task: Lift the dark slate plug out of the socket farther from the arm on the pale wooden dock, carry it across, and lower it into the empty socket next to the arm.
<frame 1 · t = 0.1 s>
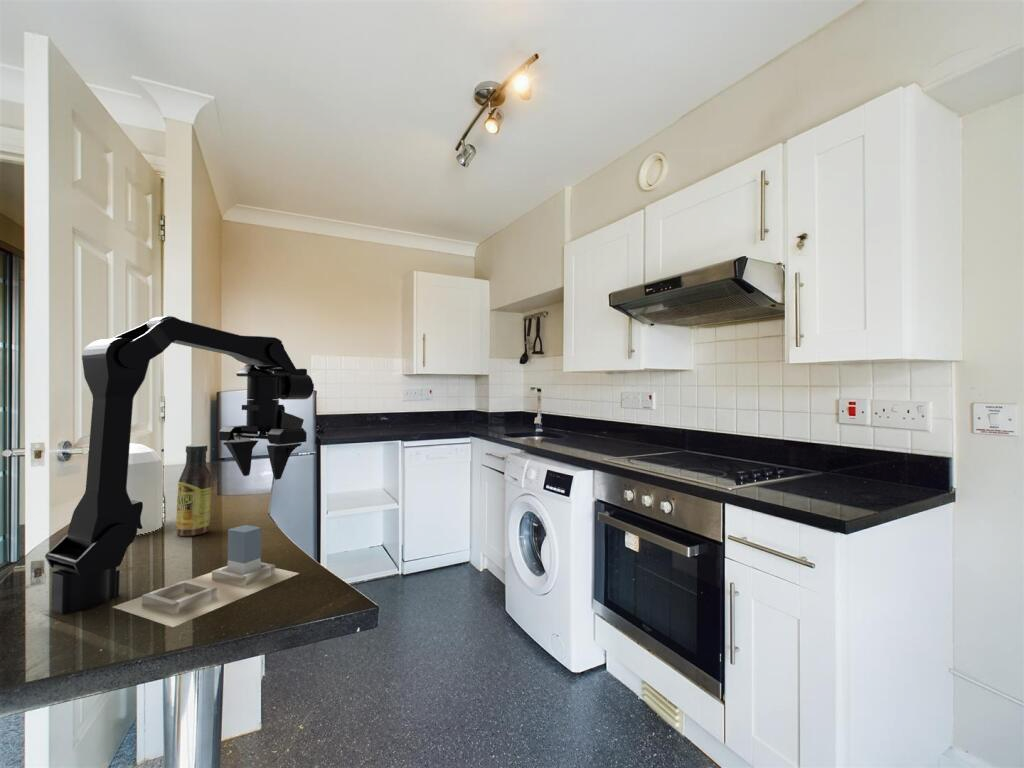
hand: (261, 477, 93), 15 cm above the counter, tool pointing down, fingers open, 9 cm apart
socket dock: (213, 595, 72), on the counter
container: (126, 531, 106), on the counter
sauce bottle: (193, 534, 104), on the counter
plug: (244, 577, 77), point 1 cm above the counter, touching socket dock
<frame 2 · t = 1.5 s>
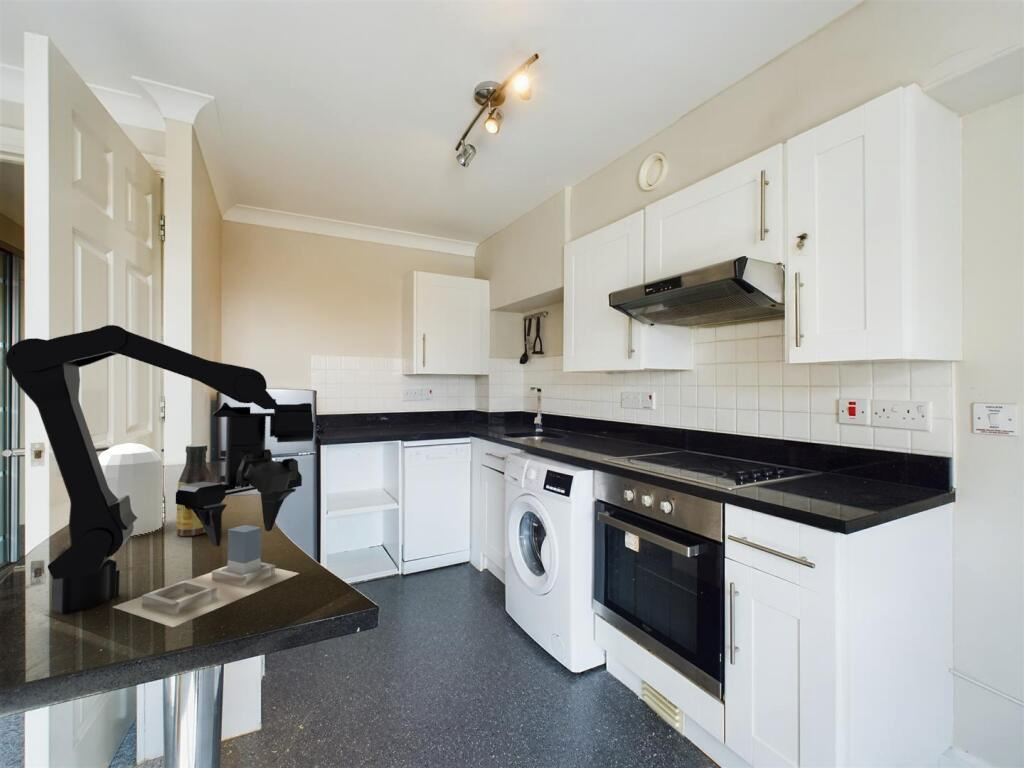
hand: (243, 538, 77), 7 cm above the counter, tool pointing down, fingers open, 9 cm apart
nothing on the counter moved.
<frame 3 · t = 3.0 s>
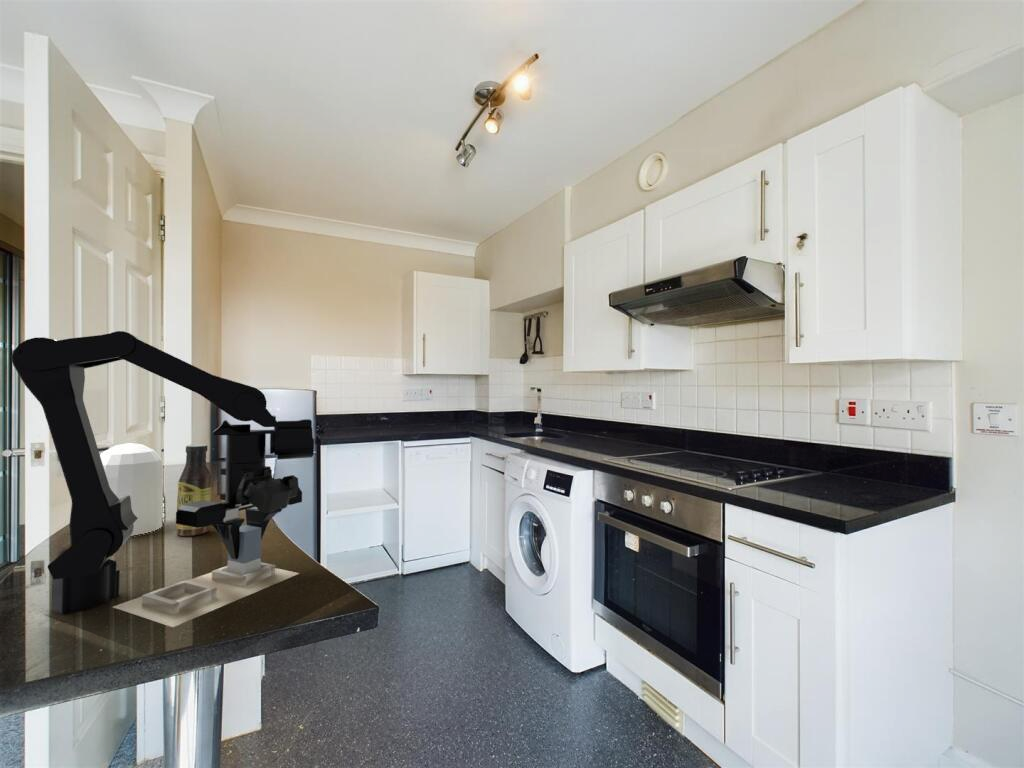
hand: (244, 555, 77), 5 cm above the counter, tool pointing down, fingers closed on plug, 3 cm apart
plug: (244, 577, 77), point 1 cm above the counter, touching gripper, socket dock
everything else where it was.
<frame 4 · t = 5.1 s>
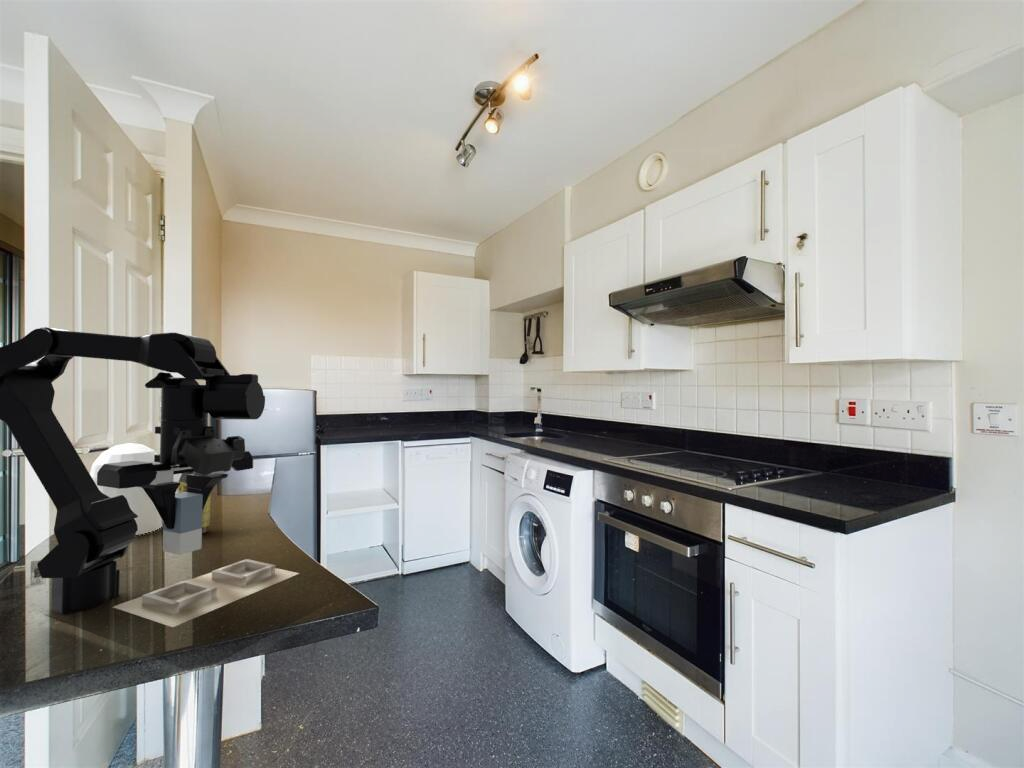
hand: (182, 525, 68), 12 cm above the counter, tool pointing down, fingers closed on plug, 3 cm apart
plug: (182, 549, 68), point 8 cm above the counter, touching gripper
everything else where it was.
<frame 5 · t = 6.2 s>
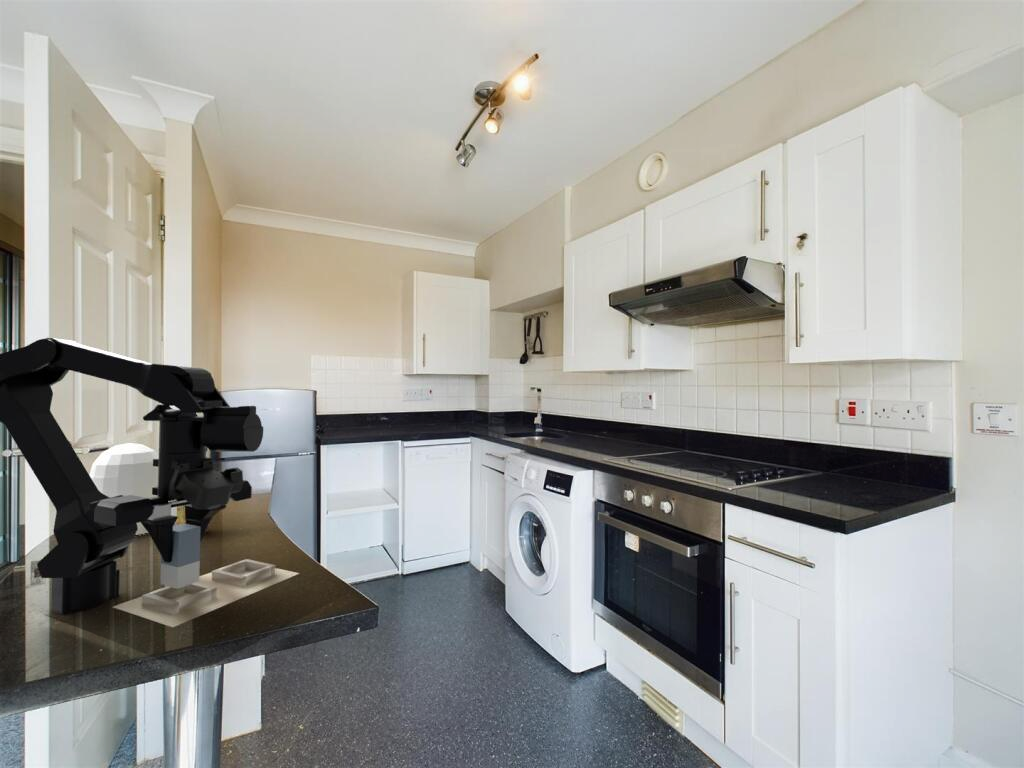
hand: (180, 558, 68), 7 cm above the counter, tool pointing down, fingers closed on plug, 3 cm apart
plug: (180, 582, 68), point 4 cm above the counter, touching gripper
everything else where it was.
when the fingers open (5 cm above the counter, at t = 7.2 s): plug stays where it is, resting on socket dock.
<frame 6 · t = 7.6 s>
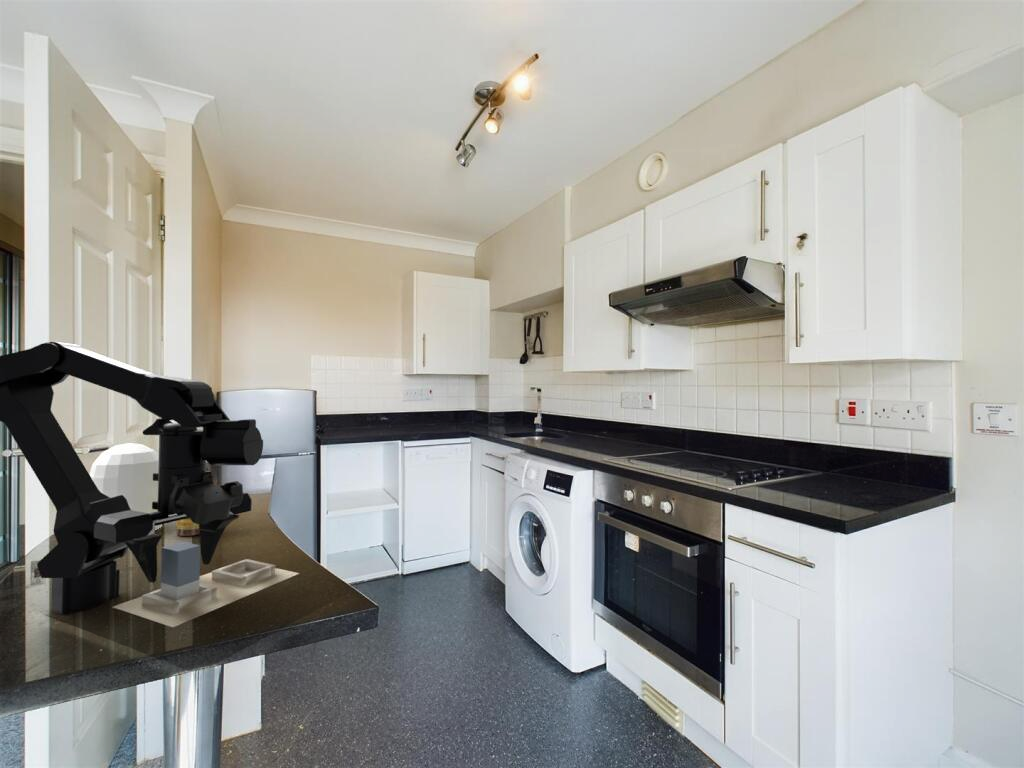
hand: (180, 572, 68), 5 cm above the counter, tool pointing down, fingers open, 7 cm apart
plug: (179, 601, 68), point 1 cm above the counter, touching socket dock
everything else where it was.
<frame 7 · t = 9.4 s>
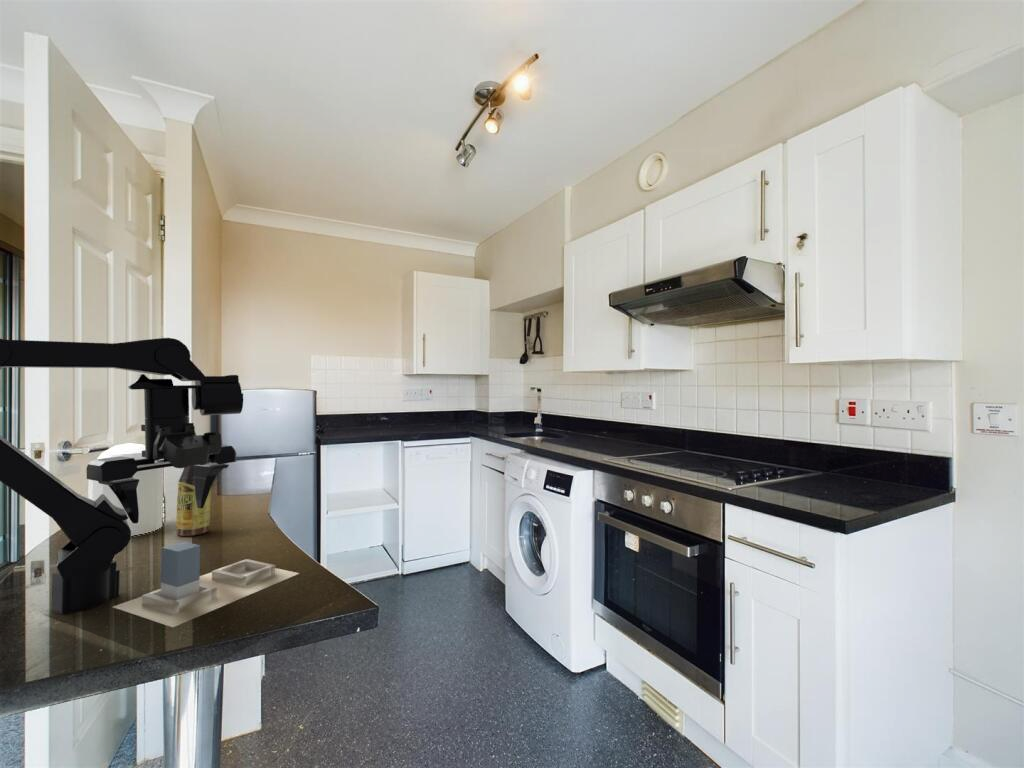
hand: (169, 515, 74), 12 cm above the counter, tool pointing down, fingers open, 9 cm apart
nothing on the counter moved.
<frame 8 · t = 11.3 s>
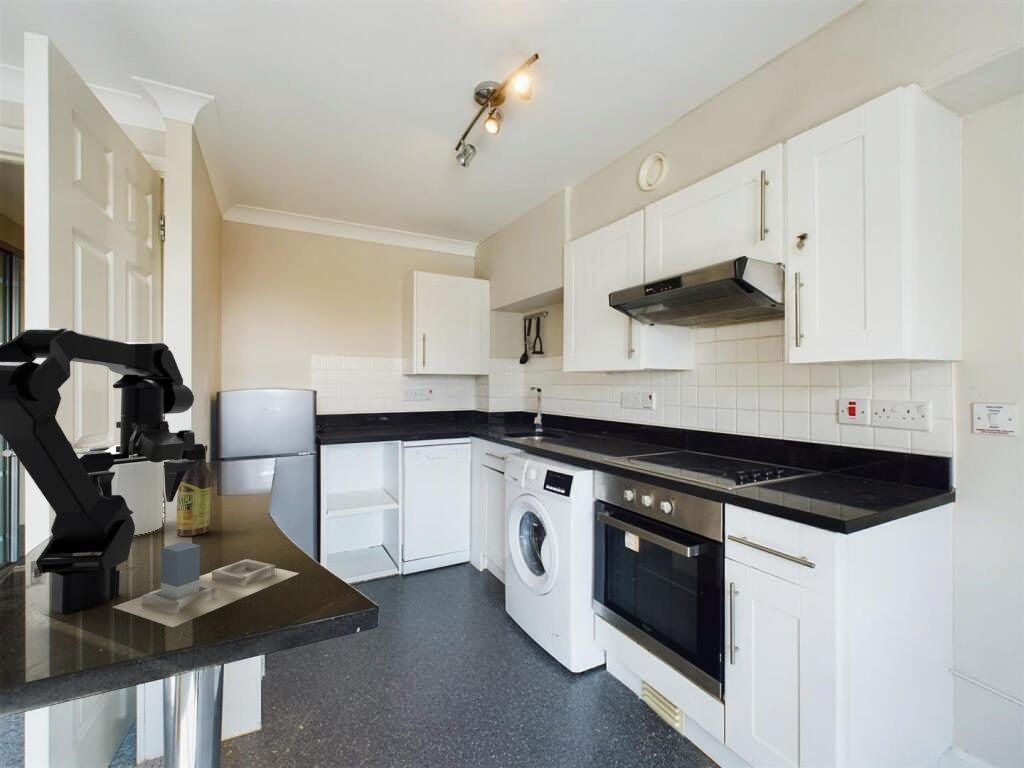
hand: (140, 507, 79), 12 cm above the counter, tool pointing down, fingers open, 9 cm apart
nothing on the counter moved.
at the end: plug 0.0 cm from the target spot on the socket dock, point 1.0 cm above the socket dock's base; plug tilted 0°; the gripper is holding nothing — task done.
